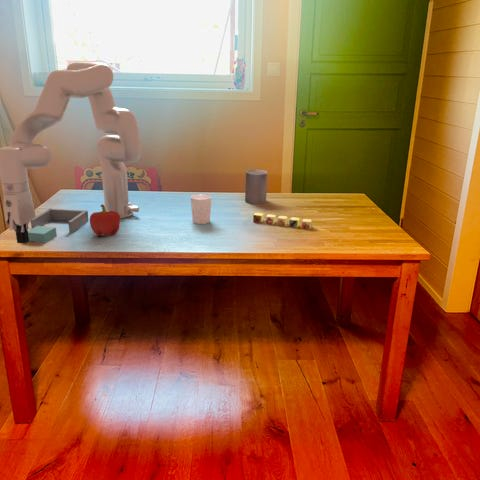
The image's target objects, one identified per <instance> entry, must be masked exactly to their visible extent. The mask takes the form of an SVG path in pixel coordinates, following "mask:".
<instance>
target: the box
mask: <svg viewBox="0 0 480 480" xmlns="http://www.w3.org/2000/svg"><path fill="white" fill-rule="evenodd" d="M88 212H89V211H88V210H84V209H83V210H82V209H81V210H80V209H63V208H60V209H59V208H48V209H46V210H45V211H43V212H41V213H39V214H38V215H35V217H34V218H33V219H32V220H31V221H30V225H31V226H30V227H31V229H33V228H34V227H36V226H45V225H47V224H48V223H49V222H51V221H52V220H55V221H56V220H58V221H68V231H69V233H74V232H75V231H77V230H78V229H80V228H81V227H82V226H83V225H85V224H86V223H87V222H88V221H89V213H88Z"/></svg>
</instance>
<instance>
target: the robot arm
mask: <svg viewBox="0 0 480 480" xmlns="http://www.w3.org/2000/svg"><path fill="white" fill-rule="evenodd" d="M113 82H114V73H113V70H112V69H111V67H110V66H109V65H107V64H106V63H104V62H90V61H89V62H86V61H76V62H71V63H70V64H68V66H67V67H66V69H56V70H53V71H51V72H50V73H49V74H48V76H47V78H46V81H45V83H44V86H43V89H42V91H41V93H40V96H39V98H38V100H37V103H36V105H35V108H34V110H33V111H32V112H30V113H29V114H28V115H26V117H25V118H23V120H22V121H21V122H20V123H18V125H17V126H16V128H15V129H14V131H13V133H12V135H11V137H10V140H9V143H8V146H3V147H0V181H1V187H2V193H3V213H4V220H5V223H6V224H7V225H9V226H8V227H9V230H11V231H14V233H15V237H16V243H17V244H22V245H23V244H24V245H26V244H28V243H29V242H30V241H29V236H28V231H29V223H31V220H32V219H33V218H34V217H36V211H35V210H36V209H35V205H34V199H33V195H32V192H31V190H30V185H29V178H28V177H29V175H28V170H29V169H30V170H31V169H32V170H33V169H43V168H45V167H48V166H49V164H51V162H52V158H53V155H52V152H51V150H50V149H49V148H48V147H47V146H46V145H43V144H39V143H34V142H33V141H34V140H35V139H36V137H37V136H38V135H39V134H41V133H42V132H43V131H45V130H47V129H50V128H52V127H54V126H56V125H58V124H59V123H61V122H62V121H63V118H64V115H65V112H66V111H67V107H68V105H69V102H70V100H71V98H74V99H75V98H76V99H83V98H88V101H89V104H90V109H91V112H92V113H91V114H92V116H93V120H94V124H95V127H96V129H97V130H98V131H99V132H100V133H103V134H106V135H104V136H102V137H100V138H99V139H98V141H97V145H96V150H97V154H98V159H99V162H100V167H101V177H102V191H103V201H104V202H103V203H104V204H103V205H104V206H105V210H106V212H109V211H114V212H117V213H118V214H119V215H120V219H125V218H130V217H131V216H133V214H134V213H139V211H140V208H139V207H138V205H132V202H131V201H129V188H128V187H129V186H128V185H129V184H128V169H127V167H126V164H125V163H128V164H129V163H131V164H132V163H136V162H137V161H139V160H140V158H141V155H142V149H143V148H142V142H141V137H140V133H139V132H140V131H139V127H138V121H137V118H136V116H135V115H134V113H133V112H132V111H131V110H129V109H126V108H122V107H117V106H116V104H115V101H114V96H113V93H112V91H111V88H110V87H111V86H112V84H113Z"/></svg>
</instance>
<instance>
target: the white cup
mask: <svg viewBox="0 0 480 480" xmlns="http://www.w3.org/2000/svg"><path fill="white" fill-rule="evenodd" d="M190 204H191V205H190V206H191V217H192V218H191V219H192V222H193V223H194V224H197V225H204V224H205V225H206V224H209V223H210V222H211V221H210V220H211V212H212V209H211V208H212V196H211V195H209V194H202V193H201V194H199V193H198V194H193V195H191V196H190Z"/></svg>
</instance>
